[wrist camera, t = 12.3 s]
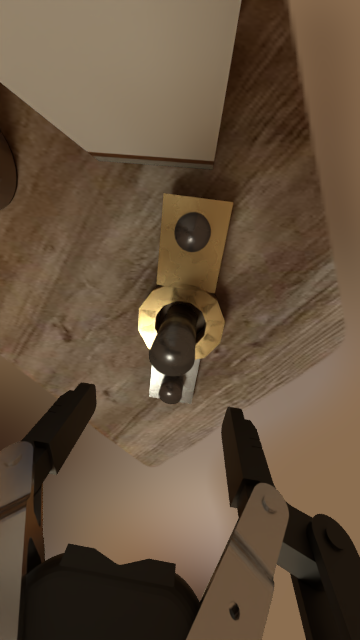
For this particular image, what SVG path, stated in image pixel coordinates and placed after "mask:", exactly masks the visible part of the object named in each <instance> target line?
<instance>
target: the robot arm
mask: <svg viewBox="0 0 360 640" xmlns="http://www.w3.org/2000/svg"><path fill="white" fill-rule="evenodd" d="M15 189H16V168H15V164H14V160H13V156H12V153H11V151H10V148H9V146H8V144H7V142H6V140H5V138H4V137H3V135H2V133H1V132H0V210H1V209H3V208H4V207H6V206H7V205H8V204H9V203H10V201H11V199H12V198H13V195H14V192H15ZM95 408H96V389H95V385H94V384H88V383H80V384H79V385H78V386H77V388H76V389H75V390H74V391H72V390H69V391H68V392H66V393H65V394H63V395H62V396H60V397H59V398H58V400H57V401H56V402H55V403H54V404H53V406H52V407H51V408H50V409H49V410H48V412H47V413H46V414H44V416H43V417H42V418H41V419H40V420H39V421H38V423H37V424H36V425H35V426H34V427H33V428H32V429H31V431H30V432H29V433H28V434H27V435H26V436H25V437H24V438H23V439H22V440H21V441H20V442H17V443H14V444H12V445H10V446H8V447H6V448H5V449H3V450H2V451H1V452H0V640H262V636H263V632H264V628H265V624H266V620H267V616H268V612H269V608H270V604H271V601H272V596H273V591H274V581H273V576H274V572H275V568H276V564H277V565H279V566H280V567H282V568H283V569H285V570H287V571H288V572H289V573H290V575H291V579H292V583H293V587H294V591H295V595H296V600H297V604H298V608H299V612H300V616H301V620H302V625H303V629H304V632H305V637H306V640H360V557H359V555H358V553H357V550H356V548H355V546H354V544H353V542H352V541H351V539H350V537H349V535H348V534H347V533H346V531H345V530H344V529H343V528H342V527H341V526H340V525H339V524H338V523H337V522H336V521H335V520H334V519H332V518H331V517H328V516H327V515H324V514H317V515H315V516H314V517H313V518H312V517H310V516H308V515H307V514H305V513H303V512H301V511H299V510H297V509H296V508H294V507H292V506H291V505H289V504H288V503H287V502H286V501H285V500H284V498H283V497H282V495H281V494H280V493H279V491H278V490H276V488H275V486H274V484H273V481H272V478H271V474H270V471H269V468H268V465H267V462H266V458H265V455H264V452H263V450H262V445H261V442H260V439H259V436H258V432H257V429H256V428H255V426H254V425H253V424H252V422H251V421H250V420H245V419H244V415H243V412H242V409H239V408H233V407H228V408H227V410H226V414H225V417H224V420H223V423H222V432H221V433H222V443H223V451H224V460H225V468H226V477H227V485H228V492H229V500H230V507H234V508H237V509H238V516H239V519H238V521H237V523H236V525H235V528H234V530H233V532H232V534H231V536H230V538H229V540H228V542H227V545H226V547H225V549H224V551H223V553H222V556H221V558H220V560H219V562H218V564H217V566H216V568H215V570H214V573H213V575H212V577H211V579H210V581H209V583H208V585H207V587H206V590H205V592H204V594H203V596H202V598H201V600H200V602H199V600H198V598H197V596H196V595H195V593H194V592H193V590H192V589H191V587H190V586H189V585H188V584H187V583H186V581H185V580H184V579H183V578H181V577H180V576H179V575H178V574H176V573H175V566H176V564H174V563H168V562H163V561H158V560H152V559H146V560H141V561H137V562H132V563H128V564H124V565H118V564H116V563H114V562H113V561H112V560H110V559H109V558H107V557H106V556H104V555H103V554H101V553H100V552H99V551H97V550H96V549H94V548H89V547H83V546H78V545H73V544H68V546H67V548H66V550H65V553H62V554H59V555H56V556H54V557H52V558H50V559H48V560H46V561H45V544H44V537H43V482H44V480H45V478H46V477H47V475H48V474H54V475H57V474H58V472H59V470H60V469H61V467H62V465H63V464H64V462H65V460H66V459H67V457H68V455H69V454H70V452H71V450H72V448H73V447H74V445H75V444H76V442H77V440H78V439H79V437H80V435H81V433H82V432H83V430H84V429H85V427H86V425H87V424H88V422H89V420H90V419H91V417H92V415H93V413H94V411H95Z"/></svg>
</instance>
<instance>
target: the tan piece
mask: <svg viewBox="0 0 360 640" xmlns="http://www.w3.org/2000/svg"><path fill="white" fill-rule="evenodd" d="M232 207H233V202H227V201H219V200H211V199H204V198H196V197H188V196H180V195H173V194H165V193H164V197H163V210H162V222H161V235H160V248H159V260H158V273H157V285H159V286H157V287H155V288H154V289H153V290H152V291H151V293H150V295H149V296H148V298H147V299H146V300H145V302H144V303H143V304H142V306H141V307H140V308H139V327H138V330H139V332H140V333H141V335H142V337H143V339H144V341H145V343H146V345H147V347H148V348H149V349H150V348H151V346H152V344H153V341H154V339H155V337H156V335H157V333H158V331H159V329H160V327H161V324H160V322H159V313H160V310H161V308H162V307H163V306H164V305H167V304H169V303H172V302H175V301H181V302H188V303H191V304H193V305H194V306H195V307H197V308H198V309H199V310H200V311H202V313H203V316H204V318H205V324H204V328H203V329H202V330H201V331H200V332H199V333H198V334H197V336H196V346H195V362H194V365H193V367H192V368H191V369H190V370H189V371H188V372H187V373H185V374H183V375H180V376H167V375H164V374H162V373H160V372H158V371H157V370H156V369H155V368H154V367H153V366H152V370H151V382H150V394H149V397H155V398H160V399H161V400H162V401H163V402H165V403H168V404H176V403H178V402H183V403H189V404H191V402H192V397H193V392H194V387H195V382H196V377H197V372H198V367H199V362H200V358H204V357H206V356H207V355H208V354H209V353H210V352H211V351H212V350H213V349H214V348H215V347H216V346H217V345H218V344H219V343H220V341H221V336H222V332H223V328H224V324H225V320H224V317H223V314H222V312H221V309H220V306H219V303H218V300H217V297H216V295H215V294H213V293H215V289H216V285H217V280H218V275H219V270H220V265H221V260H222V255H223V250H224V246H225V241H226V236H227V231H228V226H229V221H230V216H231V211H232Z"/></svg>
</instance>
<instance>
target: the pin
mask: <svg viewBox="0 0 360 640" xmlns="http://www.w3.org/2000/svg"><path fill="white" fill-rule="evenodd" d="M196 324H197V316H196V313H195V311H194V310H193V309H192V308H191V307H190V306H188V305H186V304H176V305H174V306H172V307H171V308H170V309H169V310H168V312H167V314H166V316H165V318H164V320H163V322H162V324H161V327H160V329H159V331H158V333H157V335H156V337H155V339H154V341H153V344H152V346H151V348H150V351H149V359H150V362H151V364H152V366H153V367H154V368H155V369H156V370H157V371H158V372H160V373H162V374H164V375H167V376H180V375H183V374H185V373H187V372H188V371H189V370H190V369H191V368H192V367H193V365H194V362H195V346H196Z"/></svg>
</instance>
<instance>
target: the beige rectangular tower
mask: <svg viewBox="0 0 360 640" xmlns="http://www.w3.org/2000/svg"><path fill="white" fill-rule="evenodd" d="M240 6H241V0H0V83H2V84H3V85H4V86H6V87H7V88H8V89H9V90H11V91H12V92H13V93H14V94H16V95H17V96H18V97H19V98H21V99H22V100H23V101H24V102H26V103H27V104H28V105H29V106H31V107H32V108H33V109H34V110H36V111H37V112H38V113H39V114H41V115H42V116H43V117H44V118H46V119H47V120H48V121H49V122H51V123H52V124H53V125H54V126H56V127H57V128H58V129H59V130H61V131H62V132H63V133H64V134H66V135H67V136H68V137H69V138H71V139H72V140H73V141H75V142H76V143H77V144H78V145H80V146H81V147H82V148H83V149H85V150H86V151H87V152H88V153H90V154H91V155H92V156H93V157H95V158H96V159H97V160H98V161H109V162H122V163H135V164H148V165H161V166H174V167H187V168H200V169H213V164H214V159H215V153H216V147H217V141H218V135H219V129H220V123H221V117H222V112H223V106H224V100H225V94H226V88H227V82H228V76H229V70H230V65H231V59H232V53H233V47H234V41H235V35H236V29H237V24H238V18H239V12H240Z"/></svg>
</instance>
